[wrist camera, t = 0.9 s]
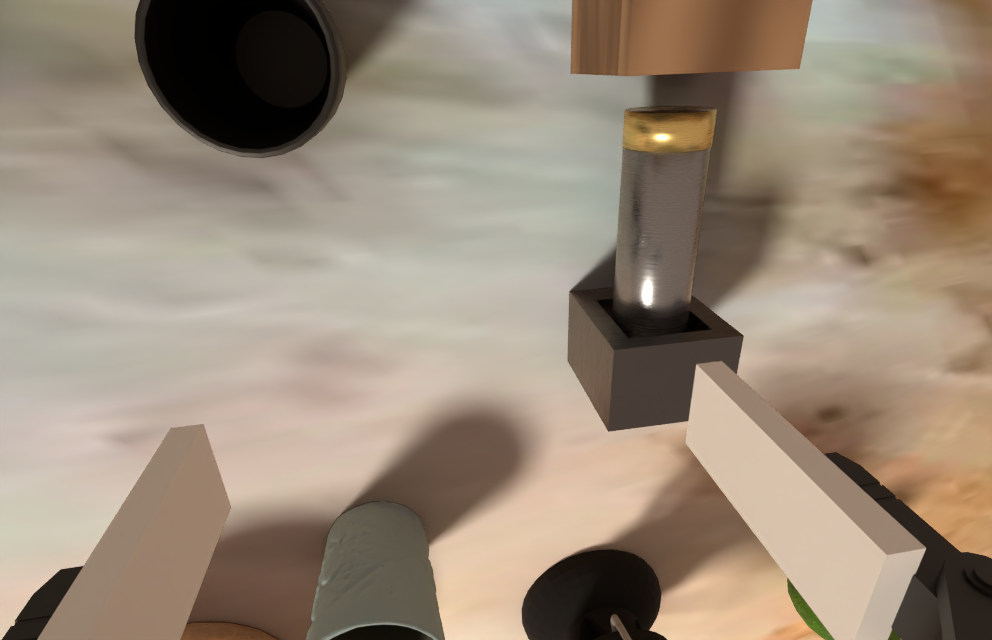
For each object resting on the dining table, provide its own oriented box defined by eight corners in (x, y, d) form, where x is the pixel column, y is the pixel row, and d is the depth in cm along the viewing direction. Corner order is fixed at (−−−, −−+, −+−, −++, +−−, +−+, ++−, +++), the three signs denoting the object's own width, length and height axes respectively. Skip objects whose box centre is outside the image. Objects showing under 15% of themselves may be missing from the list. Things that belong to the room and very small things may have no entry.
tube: (659, 377, 42) (690, 414, 38) (596, 384, 42) (621, 424, 37) (689, 104, 34) (735, 110, 29) (612, 108, 33) (646, 115, 29)
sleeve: (567, 360, 43) (608, 431, 35) (569, 291, 41) (613, 350, 32) (666, 349, 44) (728, 415, 36) (674, 281, 42) (743, 335, 33)
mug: (396, -50, 30) (396, -95, 22) (332, 156, 34) (310, 186, 26) (242, -132, 28) (173, -220, 19) (192, 100, 32) (116, 113, 23)
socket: (570, 73, 34) (627, 75, 26) (573, -19, 32) (635, -50, 24) (703, 68, 35) (799, 68, 27) (714, -22, 33) (822, -52, 25)
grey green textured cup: (313, 501, 45) (286, 636, 34) (434, 486, 47) (445, 612, 36) (329, 585, 49) (310, 728, 39) (440, 569, 51) (451, 703, 40)
